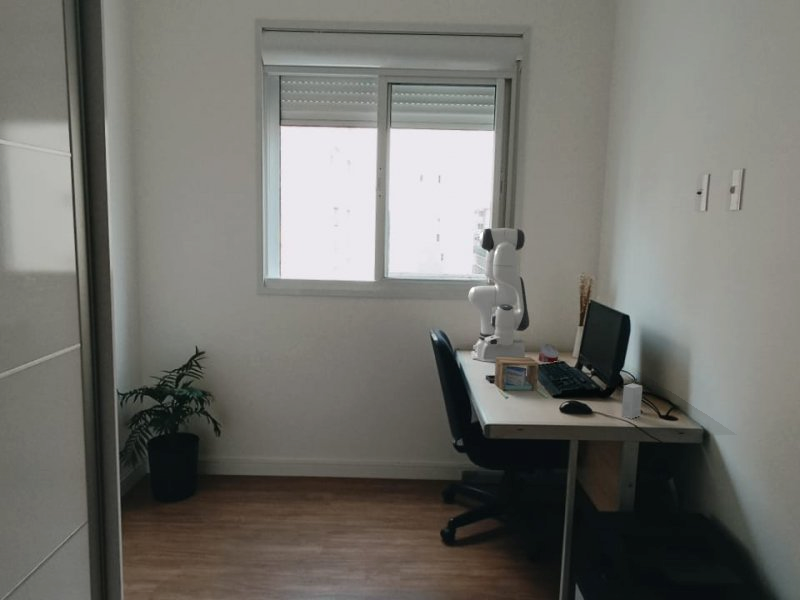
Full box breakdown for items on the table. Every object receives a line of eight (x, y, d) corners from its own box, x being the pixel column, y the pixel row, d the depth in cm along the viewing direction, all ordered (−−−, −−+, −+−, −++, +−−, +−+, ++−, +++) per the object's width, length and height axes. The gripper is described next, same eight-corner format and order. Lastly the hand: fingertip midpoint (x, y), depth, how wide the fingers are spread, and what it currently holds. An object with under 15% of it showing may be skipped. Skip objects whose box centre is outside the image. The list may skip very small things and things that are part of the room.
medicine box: (505, 386, 236) (506, 367, 235) (507, 384, 240) (509, 365, 239) (522, 389, 233) (524, 369, 232) (525, 387, 237) (526, 367, 236)
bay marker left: (498, 390, 231) (498, 389, 230) (501, 390, 231) (501, 389, 231) (505, 398, 221) (505, 396, 221) (508, 398, 221) (508, 396, 221)
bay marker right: (536, 390, 233) (536, 389, 232) (539, 390, 233) (539, 389, 233) (545, 397, 223) (545, 396, 223) (548, 397, 223) (548, 396, 223)
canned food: (554, 368, 291) (564, 352, 289) (550, 370, 282) (561, 354, 280) (536, 356, 295) (546, 340, 293) (532, 357, 286) (542, 342, 284)
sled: (490, 375, 253) (491, 363, 252) (515, 375, 254) (516, 363, 254) (504, 389, 232) (505, 376, 231) (531, 389, 233) (532, 375, 232)
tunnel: (494, 384, 241) (495, 357, 239) (528, 383, 242) (530, 357, 241) (501, 390, 231) (502, 362, 229) (536, 390, 233) (538, 362, 231)
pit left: (485, 378, 249) (485, 375, 249) (496, 378, 250) (496, 375, 250) (489, 382, 242) (489, 379, 242) (500, 382, 243) (500, 379, 243)
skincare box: (629, 413, 206) (632, 382, 205) (640, 416, 203) (643, 385, 201) (620, 416, 203) (623, 385, 201) (631, 419, 199) (634, 388, 198)
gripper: (523, 338, 258) (521, 366, 260) (481, 338, 256) (479, 366, 257) (527, 341, 252) (526, 370, 253) (484, 340, 249) (483, 370, 251)
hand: (502, 368), depth 255 cm, fingers closed
